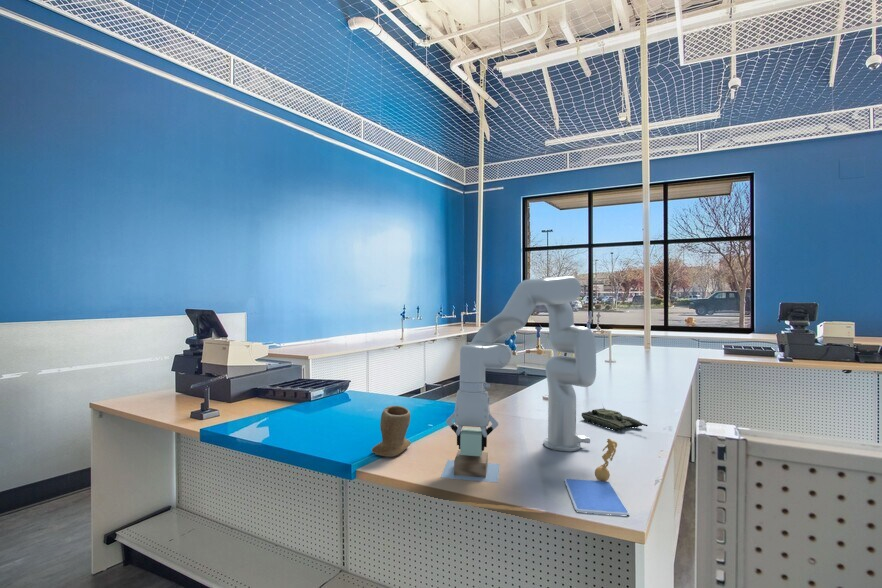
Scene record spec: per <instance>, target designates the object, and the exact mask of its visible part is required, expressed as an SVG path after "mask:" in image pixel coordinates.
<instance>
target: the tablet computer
mask: <svg viewBox="0 0 882 588" xmlns="http://www.w3.org/2000/svg"><path fill="white" fill-rule="evenodd" d="M564 481H565V482H564V484H565V487H566V486H567V487H566V489H567V492H568V495H569V497H570V500H571V502H572V505H573V507H574V510H576V511H578V512H587V513H594V514H593V515H599V514H605V515H604V516H607V515H606V514H609V515H608V516H612V515H629V514H630V512H629V510H628V509H627V507H626V506H625V504H624V503H623V500H622V499H621V497H620V495H619V494H618V493H617V491H616V490H615V487H613V485H612V483H611V482H609V481H608V480H607V481H599V480H594V479H593V480H592V479H591V480H590V479H589V480H588V479H578V478H576V479H575V478H565V479H564ZM576 511H575V512H576ZM578 512H577V513H578ZM587 513H586V514H587ZM610 514H611V515H610ZM629 516H630V515H629Z"/></svg>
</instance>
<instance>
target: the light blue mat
mask: <svg viewBox="0 0 882 588" xmlns="http://www.w3.org/2000/svg"><path fill="white" fill-rule="evenodd" d="M454 460H455V459H453V460H452V459H447V461H446V464H445V466H444V468H443V471H442V473H441V476H440V478H441V479H452V480H464V481H474V482H475V481H476V482H487V483H488V482H489V483H496V484H497V483H499V475H500V463H494V462H493V463H492V462H488V467H487V473H486V478H483V477H471V476H458V475H454Z"/></svg>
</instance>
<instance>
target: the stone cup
mask: <svg viewBox="0 0 882 588" xmlns="http://www.w3.org/2000/svg"><path fill="white" fill-rule="evenodd" d="M380 416H381V417H380V427H379V428H380V432H381V440H382V441H380V442H378V443H377V444H375V446H373V447H372V448H371V452H373V454H374V453H375V455H377V456H381V457H389V458H390V457H396V456H398V455H400V454H401V453H403V452H404V451H405V450H406V449H408V447H409V446H411V444H412V442H411V441H410V439H407V437H406V435H407V432H408V429H409V427H410V423H411V411H410V410H409V409H408V408H406V406H405V407H404V406H401V405H389V406H387V407H385V408H384V409H383V410H382V412H381V415H380Z"/></svg>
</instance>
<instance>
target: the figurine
mask: <svg viewBox="0 0 882 588" xmlns="http://www.w3.org/2000/svg"><path fill="white" fill-rule="evenodd" d="M606 443H607V445H606V446H604V448H602V452H605V450H606V449H607V451H606V452H605V453H604V454H603V455H602V456H601V457H602V458H601V459H603V461H604V463H603V464H601V465H600V466H597V467H596V468H595V470H594V476H595V478H596V480H597V481H607V482H608V480H609V479H610V476H611V475H610V471H609V470H608V468H607V467H608V466H609V462H612V461H613V458H614V457H615V454H616V452H617V447H618V442H617V441H615V440H612V439H610V438H607V440H606ZM608 460H609V461H608Z"/></svg>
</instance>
